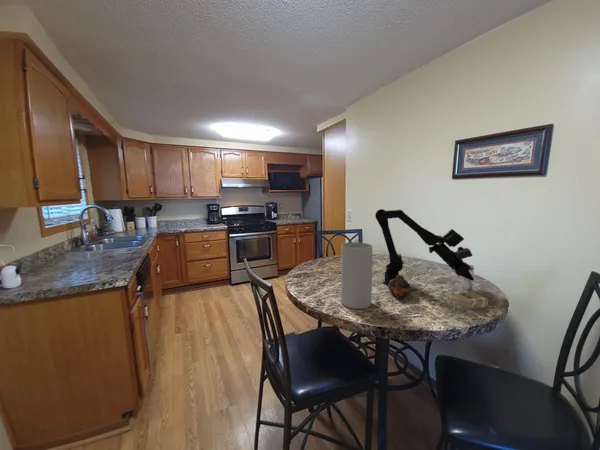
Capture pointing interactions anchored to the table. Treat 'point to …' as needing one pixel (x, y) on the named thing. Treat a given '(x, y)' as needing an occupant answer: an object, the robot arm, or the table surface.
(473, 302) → the socket block
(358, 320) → the table surface
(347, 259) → the cylinder vase
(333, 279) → the table surface
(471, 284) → the silver metal cylinder
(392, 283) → the decorative turtle
